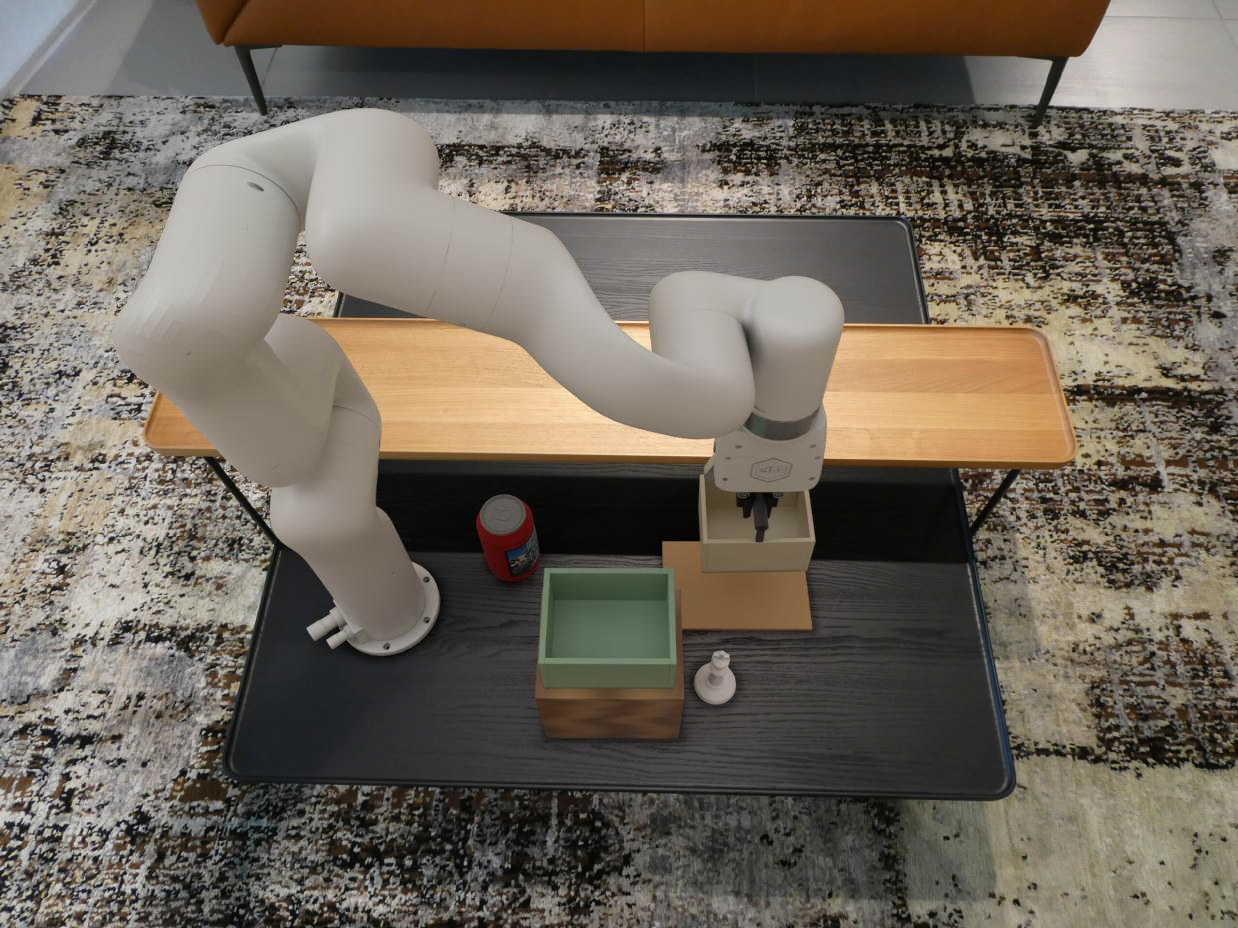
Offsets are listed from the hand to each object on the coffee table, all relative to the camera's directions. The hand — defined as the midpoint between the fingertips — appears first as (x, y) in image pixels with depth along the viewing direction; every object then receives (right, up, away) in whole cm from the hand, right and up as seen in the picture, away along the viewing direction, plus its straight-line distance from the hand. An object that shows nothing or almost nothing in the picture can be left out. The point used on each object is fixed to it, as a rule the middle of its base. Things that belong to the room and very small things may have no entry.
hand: (755, 506), depth 90 cm
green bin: (-15, -14, -2) cm, 21 cm away
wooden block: (-15, -22, +9) cm, 28 cm away
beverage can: (-28, -8, +19) cm, 35 cm away
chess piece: (-3, -22, +9) cm, 24 cm away
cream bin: (+1, -4, +6) cm, 7 cm away
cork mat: (0, -11, +16) cm, 20 cm away
